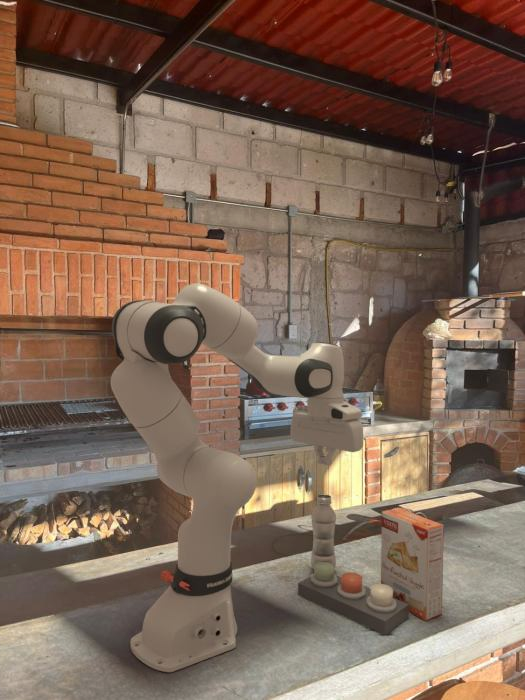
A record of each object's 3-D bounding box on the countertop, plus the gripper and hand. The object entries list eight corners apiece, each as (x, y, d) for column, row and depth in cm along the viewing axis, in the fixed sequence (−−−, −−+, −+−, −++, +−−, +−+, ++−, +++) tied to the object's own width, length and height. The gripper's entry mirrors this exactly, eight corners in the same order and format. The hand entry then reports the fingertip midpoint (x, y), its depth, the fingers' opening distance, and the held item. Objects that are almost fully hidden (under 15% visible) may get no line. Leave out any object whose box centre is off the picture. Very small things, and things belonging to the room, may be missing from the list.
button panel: (384, 635, 112) (385, 616, 112) (297, 595, 129) (298, 578, 129) (408, 617, 119) (409, 599, 119) (323, 581, 136) (323, 566, 136)
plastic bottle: (337, 576, 139) (338, 500, 138) (311, 575, 139) (312, 499, 139) (334, 565, 146) (335, 492, 145) (309, 565, 146) (310, 492, 145)
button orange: (354, 595, 121) (354, 583, 120) (336, 587, 124) (337, 576, 124) (366, 588, 124) (366, 577, 124) (349, 581, 127) (349, 570, 127)
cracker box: (378, 596, 129) (380, 510, 128) (396, 589, 132) (398, 506, 132) (424, 622, 117) (426, 528, 117) (443, 615, 120) (445, 523, 120)
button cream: (385, 608, 115) (385, 596, 115) (366, 600, 118) (366, 588, 118) (396, 600, 118) (397, 588, 118) (378, 592, 122) (378, 581, 122)
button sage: (325, 583, 126) (326, 572, 126) (310, 576, 129) (310, 566, 129) (338, 576, 130) (338, 566, 129) (322, 570, 133) (322, 560, 133)
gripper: (285, 405, 136) (284, 459, 136) (352, 414, 122) (351, 474, 122) (301, 403, 141) (300, 455, 141) (367, 411, 126) (366, 469, 127)
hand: (324, 464), depth 131 cm, fingers closed
